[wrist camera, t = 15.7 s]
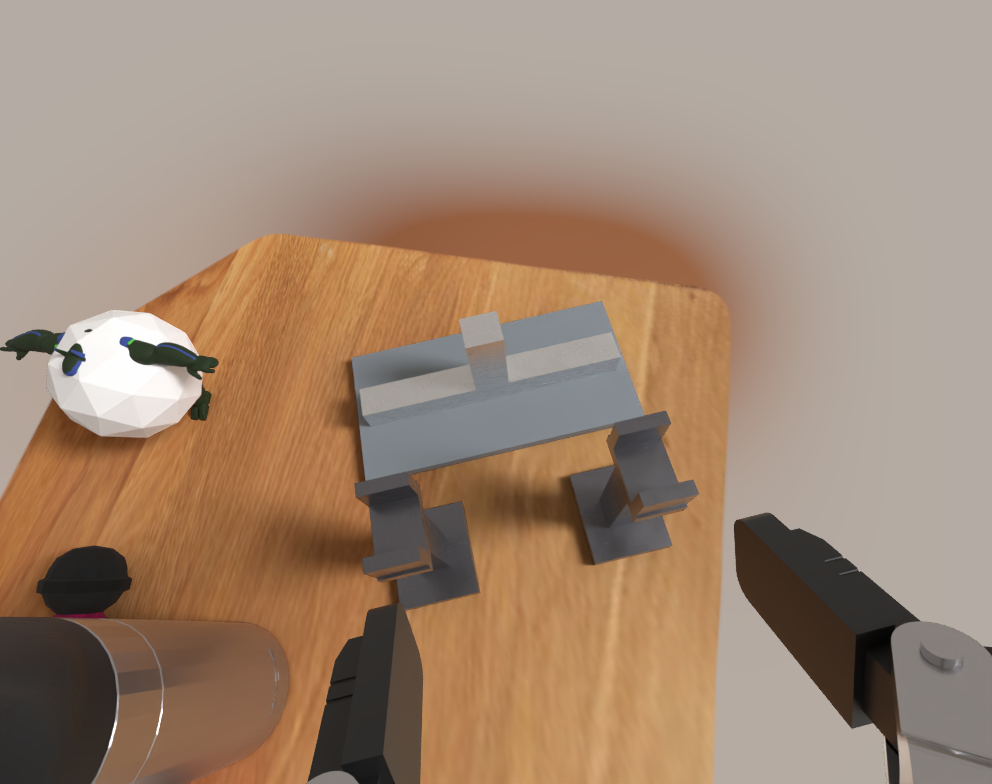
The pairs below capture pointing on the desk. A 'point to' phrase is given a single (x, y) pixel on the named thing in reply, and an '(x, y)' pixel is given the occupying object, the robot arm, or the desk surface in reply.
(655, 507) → the hook stand
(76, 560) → the microphone
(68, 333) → the figurine
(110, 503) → the desk surface
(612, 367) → the rail
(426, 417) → the mat
